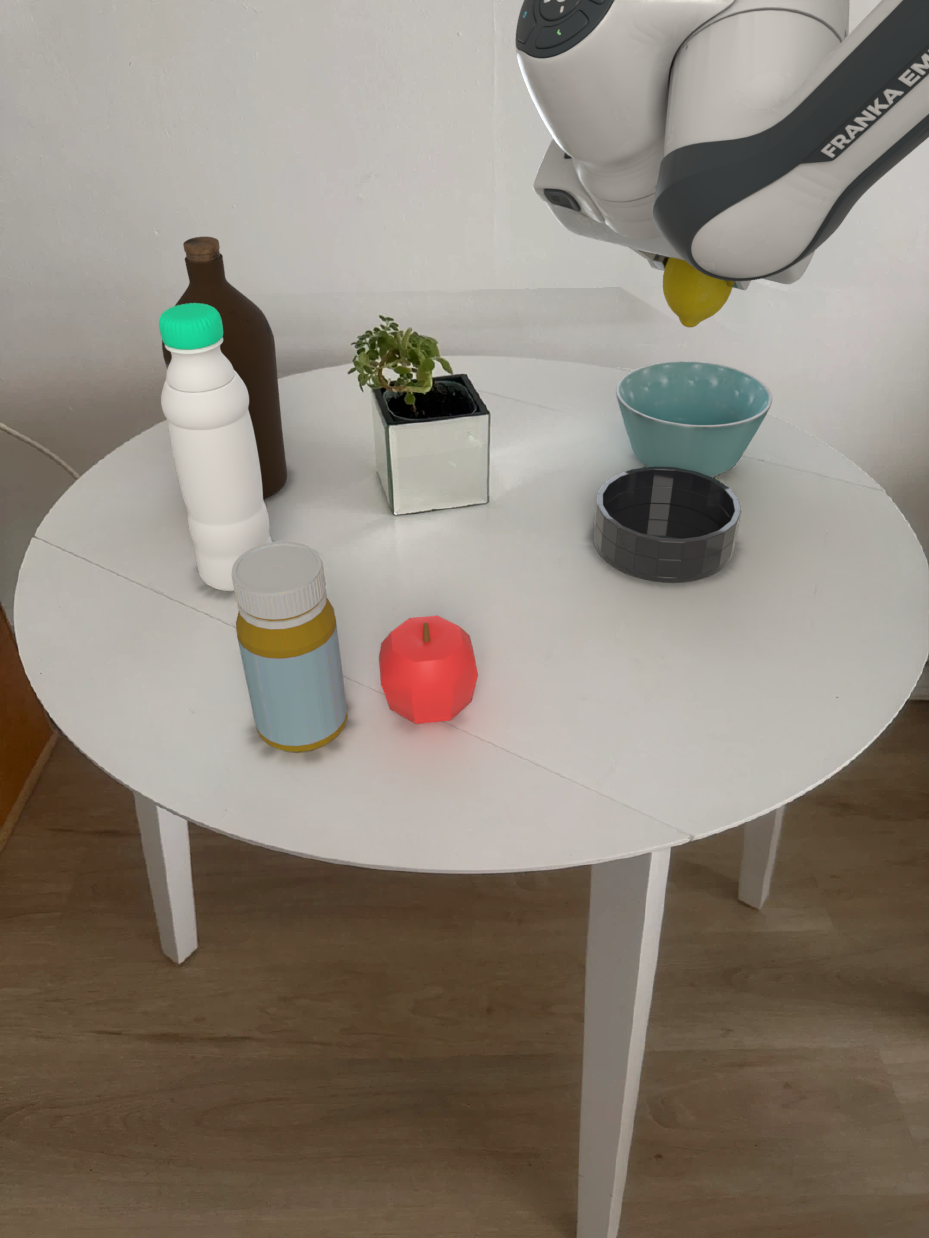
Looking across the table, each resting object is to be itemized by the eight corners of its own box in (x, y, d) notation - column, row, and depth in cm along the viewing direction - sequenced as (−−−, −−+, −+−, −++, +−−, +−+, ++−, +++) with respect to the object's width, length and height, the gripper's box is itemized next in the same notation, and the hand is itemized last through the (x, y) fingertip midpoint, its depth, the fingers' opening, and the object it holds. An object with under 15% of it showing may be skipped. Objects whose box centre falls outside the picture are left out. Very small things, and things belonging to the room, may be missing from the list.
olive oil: (269, 447, 111) (234, 216, 96) (309, 489, 104) (278, 247, 89) (177, 473, 107) (125, 236, 91) (212, 519, 100) (162, 270, 84)
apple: (464, 747, 75) (463, 667, 70) (364, 728, 76) (356, 648, 71) (491, 678, 81) (491, 600, 76) (398, 662, 82) (392, 584, 77)
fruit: (736, 336, 80) (753, 235, 75) (672, 342, 80) (684, 240, 75) (709, 311, 85) (724, 213, 80) (648, 316, 84) (658, 218, 79)
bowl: (583, 445, 111) (588, 375, 106) (701, 415, 116) (711, 348, 111) (663, 513, 99) (672, 440, 94) (789, 477, 105) (805, 406, 99)
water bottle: (240, 604, 89) (187, 336, 73) (183, 579, 92) (121, 317, 76) (292, 565, 93) (253, 305, 78) (237, 542, 97) (188, 288, 81)
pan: (745, 521, 98) (753, 482, 95) (715, 596, 89) (723, 555, 86) (616, 494, 102) (620, 456, 100) (575, 563, 93) (577, 523, 90)
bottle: (364, 708, 78) (347, 551, 69) (317, 768, 73) (292, 608, 64) (289, 684, 80) (262, 528, 71) (239, 740, 76) (203, 582, 66)
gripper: (816, 148, 62) (845, 262, 74) (551, 106, 73) (613, 212, 85) (771, 239, 63) (807, 338, 75) (513, 184, 73) (580, 279, 85)
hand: (702, 271), depth 80 cm, fingers closed on fruit, 5 cm apart
